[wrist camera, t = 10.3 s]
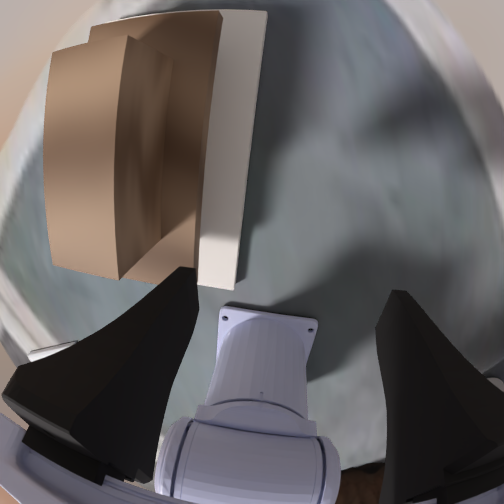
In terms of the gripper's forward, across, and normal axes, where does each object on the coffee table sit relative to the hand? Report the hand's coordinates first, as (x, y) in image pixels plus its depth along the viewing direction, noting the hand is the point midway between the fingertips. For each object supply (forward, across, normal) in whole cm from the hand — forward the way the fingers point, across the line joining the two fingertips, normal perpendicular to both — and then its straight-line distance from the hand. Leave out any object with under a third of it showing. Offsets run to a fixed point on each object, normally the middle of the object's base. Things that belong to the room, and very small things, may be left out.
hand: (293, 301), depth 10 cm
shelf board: (+7, +9, -3) cm, 12 cm away
